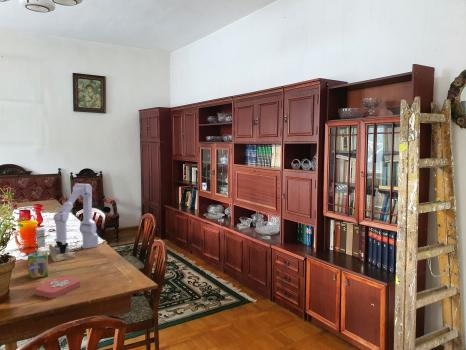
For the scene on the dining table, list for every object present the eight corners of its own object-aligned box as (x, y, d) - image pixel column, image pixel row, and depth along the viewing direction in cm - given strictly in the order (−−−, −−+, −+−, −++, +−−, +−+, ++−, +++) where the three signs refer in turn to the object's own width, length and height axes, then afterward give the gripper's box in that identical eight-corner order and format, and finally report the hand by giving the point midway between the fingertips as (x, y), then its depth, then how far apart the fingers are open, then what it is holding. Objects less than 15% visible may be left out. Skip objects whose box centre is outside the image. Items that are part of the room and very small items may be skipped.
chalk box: (48, 276, 197) (47, 249, 195) (28, 279, 193) (27, 251, 191) (48, 271, 205) (47, 244, 204) (29, 273, 201) (28, 246, 200)
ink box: (31, 247, 248) (30, 230, 247) (30, 246, 252) (29, 229, 251) (45, 246, 252) (44, 229, 251) (44, 244, 256) (43, 227, 255)
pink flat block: (60, 274, 191) (82, 278, 185) (60, 281, 191) (82, 286, 186) (29, 286, 175) (52, 292, 169) (29, 294, 175) (52, 300, 169)
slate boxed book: (67, 254, 232) (67, 246, 232) (69, 256, 229) (68, 247, 229) (55, 256, 228) (55, 247, 228) (56, 258, 225) (56, 249, 224)
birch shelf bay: (69, 251, 241) (69, 241, 240) (75, 258, 228) (75, 247, 227) (49, 254, 234) (49, 244, 233) (54, 261, 221) (53, 250, 220)
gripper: (52, 230, 231) (52, 251, 232) (56, 235, 219) (57, 257, 220) (64, 228, 235) (64, 249, 236) (69, 233, 223) (70, 255, 224)
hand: (62, 253), depth 228 cm, fingers closed on slate boxed book, 4 cm apart
